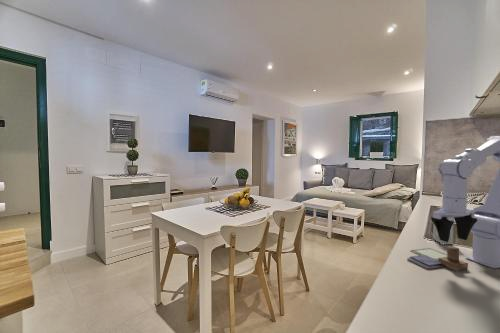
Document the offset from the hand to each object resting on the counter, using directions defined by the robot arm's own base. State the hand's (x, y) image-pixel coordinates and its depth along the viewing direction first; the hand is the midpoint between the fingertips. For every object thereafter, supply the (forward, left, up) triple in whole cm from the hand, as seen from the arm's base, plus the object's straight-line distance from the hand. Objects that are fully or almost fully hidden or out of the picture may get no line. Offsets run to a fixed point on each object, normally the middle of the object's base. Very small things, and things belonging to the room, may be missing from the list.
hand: (453, 239), depth 73 cm
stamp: (0, 0, -9) cm, 9 cm away
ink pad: (+6, -4, -9) cm, 11 cm away
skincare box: (-20, -18, -9) cm, 28 cm away
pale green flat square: (-3, -9, -9) cm, 13 cm away
